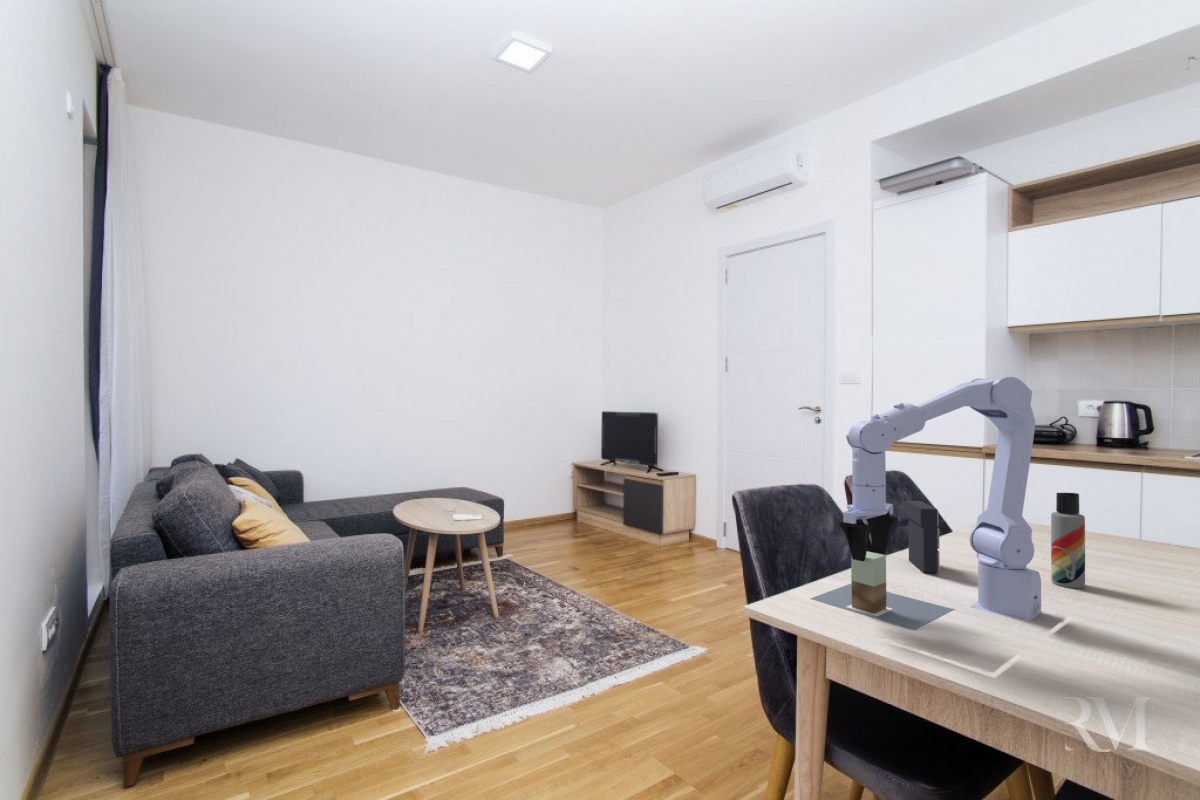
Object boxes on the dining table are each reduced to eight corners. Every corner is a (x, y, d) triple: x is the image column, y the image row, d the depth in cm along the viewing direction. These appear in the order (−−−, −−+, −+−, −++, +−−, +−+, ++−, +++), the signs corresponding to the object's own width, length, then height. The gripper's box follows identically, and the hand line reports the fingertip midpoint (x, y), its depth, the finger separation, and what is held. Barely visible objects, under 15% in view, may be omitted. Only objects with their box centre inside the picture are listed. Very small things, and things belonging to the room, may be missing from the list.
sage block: (886, 581, 110) (886, 555, 110) (873, 586, 107) (873, 559, 107) (863, 576, 113) (863, 550, 113) (851, 580, 110) (851, 554, 110)
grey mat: (954, 612, 109) (954, 608, 109) (914, 633, 99) (914, 629, 99) (852, 585, 125) (852, 582, 125) (809, 601, 115) (809, 598, 115)
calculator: (941, 574, 133) (941, 509, 133) (921, 573, 133) (920, 508, 133) (924, 561, 143) (924, 500, 143) (905, 560, 144) (905, 500, 144)
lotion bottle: (1056, 586, 124) (1056, 493, 124) (1047, 579, 129) (1047, 489, 129) (1089, 590, 121) (1089, 494, 121) (1079, 582, 127) (1078, 490, 127)
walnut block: (886, 608, 109) (886, 581, 109) (874, 613, 107) (874, 586, 107) (863, 602, 113) (863, 576, 113) (851, 606, 110) (851, 580, 110)
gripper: (868, 479, 117) (868, 546, 117) (828, 485, 109) (828, 558, 109) (903, 482, 112) (904, 553, 112) (864, 490, 103) (864, 566, 103)
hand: (869, 556), depth 110 cm, fingers open, 7 cm apart
